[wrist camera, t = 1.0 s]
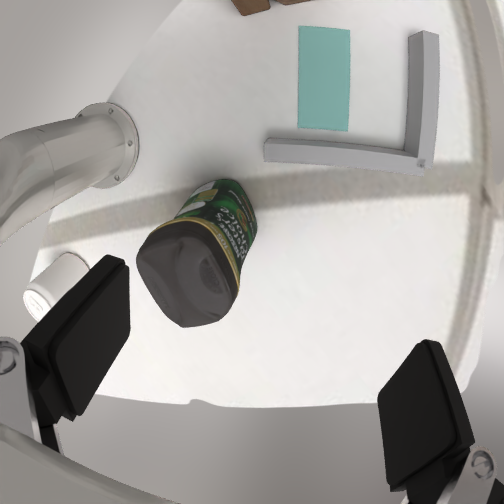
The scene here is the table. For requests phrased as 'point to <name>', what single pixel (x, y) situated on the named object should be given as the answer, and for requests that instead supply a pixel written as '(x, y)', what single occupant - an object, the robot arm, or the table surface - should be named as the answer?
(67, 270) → the beverage can
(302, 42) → the pad
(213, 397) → the table surface
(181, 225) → the coffee jar
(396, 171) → the corner wall
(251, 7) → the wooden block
